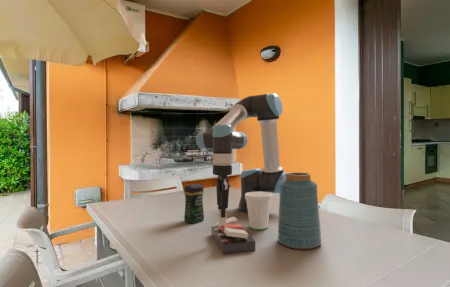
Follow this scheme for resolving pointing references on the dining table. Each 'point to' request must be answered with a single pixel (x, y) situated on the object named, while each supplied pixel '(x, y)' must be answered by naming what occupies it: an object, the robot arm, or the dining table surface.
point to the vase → (299, 212)
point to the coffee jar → (194, 203)
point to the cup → (258, 209)
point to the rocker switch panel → (232, 242)
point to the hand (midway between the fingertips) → (222, 225)
